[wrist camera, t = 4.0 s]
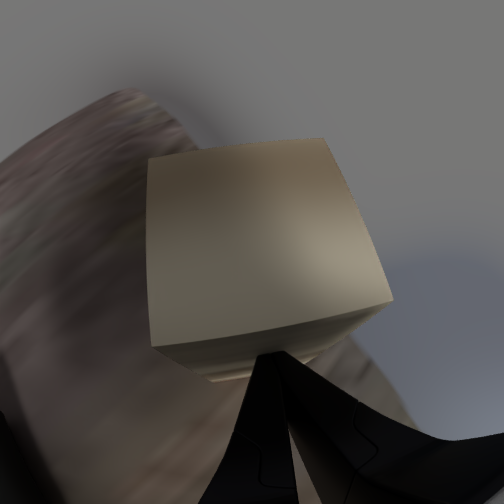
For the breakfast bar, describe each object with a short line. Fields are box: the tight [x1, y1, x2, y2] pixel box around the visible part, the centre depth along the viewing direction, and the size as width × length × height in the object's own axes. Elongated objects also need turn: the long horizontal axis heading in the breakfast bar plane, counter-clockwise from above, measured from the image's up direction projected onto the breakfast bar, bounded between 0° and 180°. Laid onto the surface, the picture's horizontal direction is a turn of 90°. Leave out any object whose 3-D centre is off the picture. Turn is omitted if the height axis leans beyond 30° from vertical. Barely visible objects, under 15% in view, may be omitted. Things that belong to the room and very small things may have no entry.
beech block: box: [146, 138, 394, 383], centre depth 12 cm, size 5×5×12 cm
